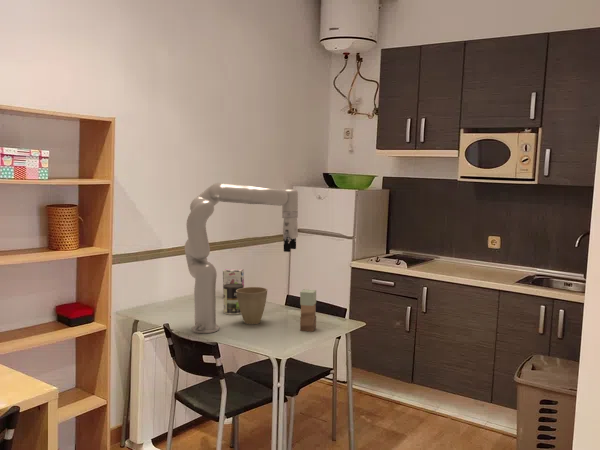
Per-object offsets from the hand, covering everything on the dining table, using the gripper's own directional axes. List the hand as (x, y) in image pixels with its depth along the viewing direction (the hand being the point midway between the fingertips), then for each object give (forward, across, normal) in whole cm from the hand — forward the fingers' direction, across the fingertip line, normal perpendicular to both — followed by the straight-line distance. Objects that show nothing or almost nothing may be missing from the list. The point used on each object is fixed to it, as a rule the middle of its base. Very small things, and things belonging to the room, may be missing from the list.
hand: (289, 250), depth 287 cm
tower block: (+28, -14, -13) cm, 34 cm away
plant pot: (+34, -10, +16) cm, 39 cm away
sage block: (+22, -14, -13) cm, 29 cm away
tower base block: (+34, -14, -13) cm, 39 cm away
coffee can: (+34, +6, +32) cm, 47 cm away
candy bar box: (+34, +36, +44) cm, 66 cm away
